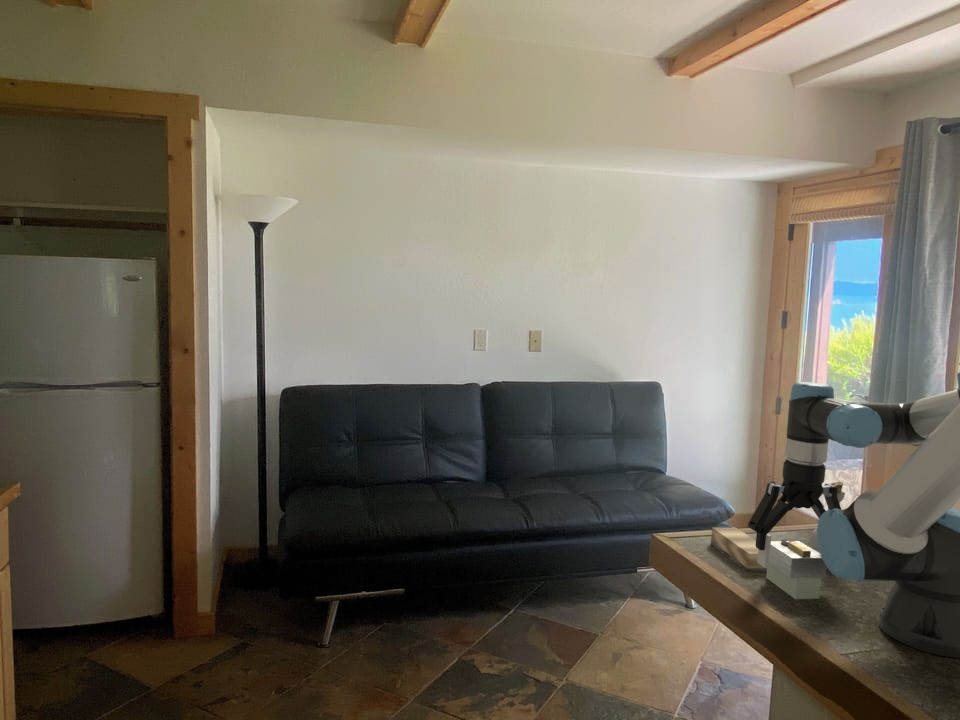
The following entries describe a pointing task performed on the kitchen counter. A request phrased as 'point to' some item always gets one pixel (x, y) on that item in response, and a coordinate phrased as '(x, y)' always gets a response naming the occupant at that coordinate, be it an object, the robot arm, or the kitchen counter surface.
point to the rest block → (795, 584)
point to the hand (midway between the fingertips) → (794, 565)
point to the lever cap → (796, 559)
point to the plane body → (737, 547)
